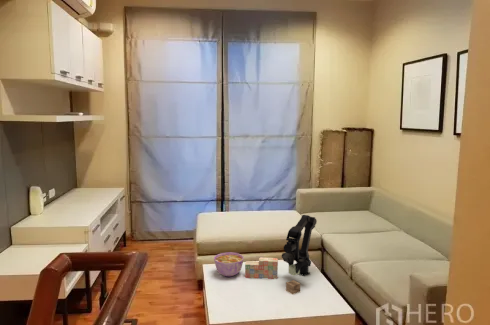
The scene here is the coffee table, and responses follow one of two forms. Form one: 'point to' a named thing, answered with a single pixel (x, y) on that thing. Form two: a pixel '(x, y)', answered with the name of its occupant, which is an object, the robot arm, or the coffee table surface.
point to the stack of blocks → (262, 268)
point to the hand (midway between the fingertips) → (294, 271)
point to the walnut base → (292, 286)
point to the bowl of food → (228, 263)
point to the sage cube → (293, 270)
